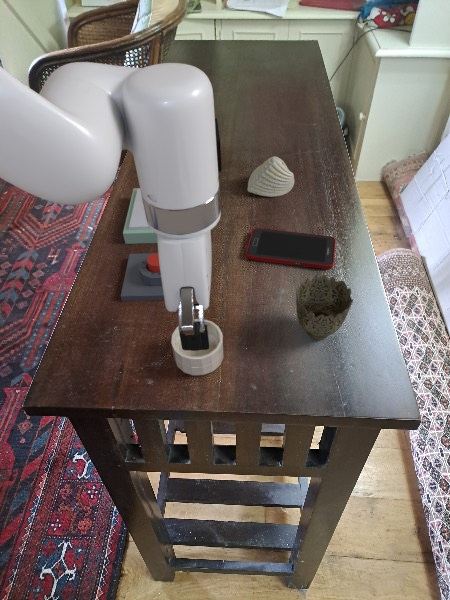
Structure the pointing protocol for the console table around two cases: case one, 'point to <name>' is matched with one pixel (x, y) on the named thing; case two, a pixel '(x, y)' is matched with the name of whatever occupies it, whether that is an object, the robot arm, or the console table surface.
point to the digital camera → (218, 145)
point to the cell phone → (291, 248)
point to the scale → (137, 222)
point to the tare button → (153, 263)
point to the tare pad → (141, 280)
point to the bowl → (199, 352)
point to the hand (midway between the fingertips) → (197, 317)
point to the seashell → (271, 179)
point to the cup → (322, 305)
